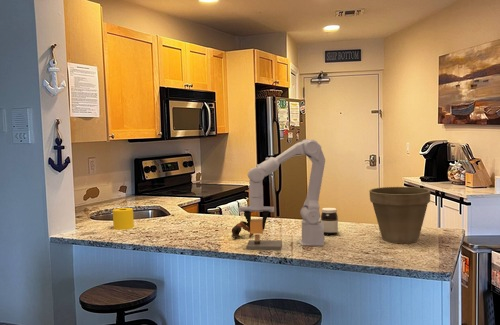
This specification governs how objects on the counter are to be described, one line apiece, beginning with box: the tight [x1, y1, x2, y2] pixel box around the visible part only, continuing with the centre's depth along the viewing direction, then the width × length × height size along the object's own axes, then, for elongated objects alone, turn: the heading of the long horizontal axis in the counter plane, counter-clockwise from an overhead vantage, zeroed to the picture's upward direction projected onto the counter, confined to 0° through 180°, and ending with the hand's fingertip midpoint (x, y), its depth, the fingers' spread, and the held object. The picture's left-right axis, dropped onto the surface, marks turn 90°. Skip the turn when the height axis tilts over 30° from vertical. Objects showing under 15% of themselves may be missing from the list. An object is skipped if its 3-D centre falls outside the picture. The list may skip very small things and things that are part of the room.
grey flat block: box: [245, 234, 283, 251], centre depth 190 cm, size 14×10×5 cm
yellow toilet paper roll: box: [112, 207, 135, 231], centre depth 234 cm, size 10×10×9 cm
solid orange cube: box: [249, 218, 265, 235], centre depth 190 cm, size 5×5×5 cm
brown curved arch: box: [231, 220, 254, 239], centre depth 207 cm, size 12×10×8 cm
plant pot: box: [368, 186, 431, 244], centre depth 196 cm, size 25×25×22 cm
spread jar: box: [319, 207, 339, 237], centre depth 211 cm, size 12×11×12 cm
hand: (256, 228), depth 190 cm, fingers closed on solid orange cube, 5 cm apart
